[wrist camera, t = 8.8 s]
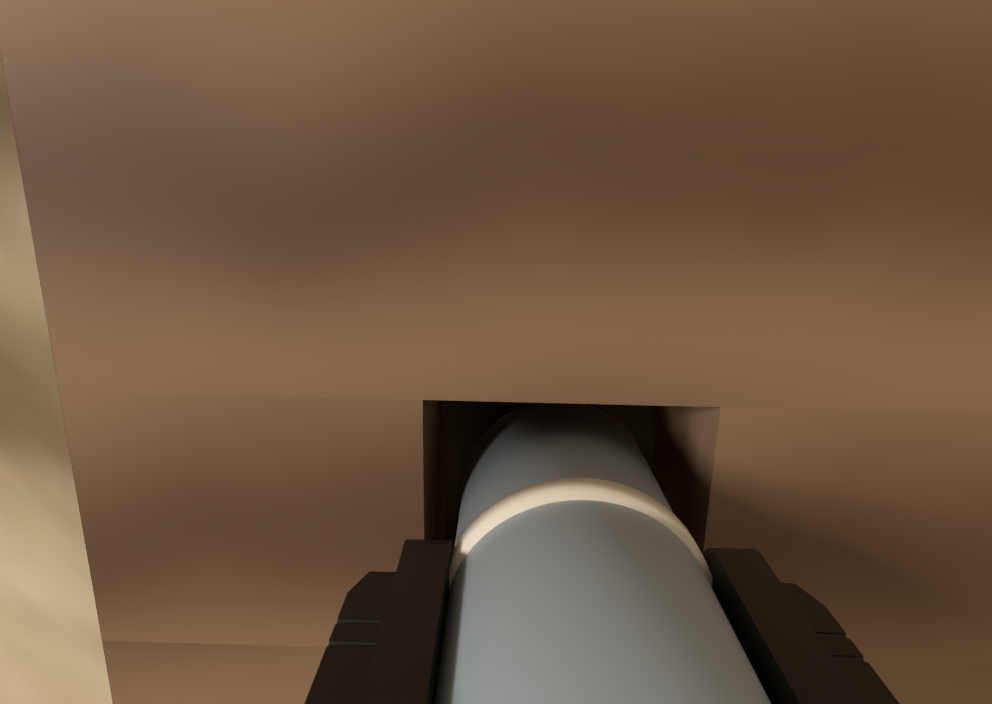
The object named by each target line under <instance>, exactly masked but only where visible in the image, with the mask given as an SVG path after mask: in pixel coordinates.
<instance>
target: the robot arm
mask: <svg viewBox="0 0 992 704" xmlns="http://www.w3.org/2000/svg"><path fill="white" fill-rule="evenodd" d="M451 556H452V541H451V540H422V539H406V540H405V542H404V545H403V549H402V552H401V556H400V559H399V563H398V566H397V570H396V572H376V571H369V572H368V573H367V574H366V575H365V576H364V577H363V578H362V579H361V580H360V581H359V582H358V583H357V584H356V585H355V586H354V587H353V588H352V589H351V590H350V591H349V592H347V595H346V598H345V600H344V603H343V605H342V608H341V611H340V613H339V616H338V620H337V623H335V626H334V629H333V631H332V634H331V636H330V639H329V645H328V646H327V647H326V649H325V652H324V654H323V657H322V660H321V662H320V665H319V667H318V670H317V673H316V675H315V678H314V680H313V683H312V685H311V688H310V691H309V693H308V696H307V698H306V701H305V704H434V698H435V691H436V684H437V677H438V669H439V662H440V655H441V648H442V640H443V633H444V626H445V619H446V611H447V604H448V597H449V570H450V563H451ZM703 557H704V559H705V561H706V563H707V565H708V567H709V570H710V572H711V574H712V577H713V579H712V589H713V591H714V593H715V595H716V597H717V599H718V601H719V603H720V605H721V607H722V609H723V611H724V613H725V615H726V617H727V619H728V620H729V622H730V624H731V626H732V628H733V630H734V632H735V634H736V636H737V638H738V640H739V642H740V644H741V646H742V648H743V650H744V652H745V654H746V655H747V657H748V659H749V661H750V663H751V665H752V667H753V669H754V671H755V673H756V675H757V677H758V679H759V681H760V683H761V685H762V687H763V689H764V690H765V692H766V694H767V696H768V698H769V700H770V702H771V704H900V703H899V702H898V701H897V699H896V698H895V697H894V695H893V694H892V693H891V692H890V690H889V689H888V688H887V686H886V685H885V684H884V682H883V681H882V680H881V678H880V677H879V676H878V674H877V673H876V672H875V671H874V669H873V668H872V667H871V665H870V664H869V663H868V662H864V659H863V655H862V653H861V652H860V651H859V649H858V648H857V647H856V646H855V644H854V643H853V642H852V640H851V639H850V638H847V637H846V632H845V631H844V630H843V628H842V627H841V626H840V624H839V623H838V622H837V621H836V619H835V618H834V617H833V615H832V614H831V613H830V611H829V610H828V609H827V607H826V606H825V605H823V604H822V603H821V602H819V601H818V600H817V599H815V598H814V597H813V596H811V595H810V594H808V593H807V592H806V591H804V590H803V589H802V588H800V587H799V586H798V585H796V584H795V583H781V582H780V581H779V579H778V578H777V576H776V575H775V573H774V572H773V570H772V569H771V568H770V566H769V565H768V563H767V562H766V560H765V559H764V557H763V556H762V555H761V553H760V552H759V551H758V550H756V549H741V548H706V549H705V551H704V552H703Z"/></svg>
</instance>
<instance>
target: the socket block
mask: <svg viewBox="0 0 992 704" xmlns="http://www.w3.org/2000/svg"><path fill="white" fill-rule="evenodd" d="M0 52H1V58H2V64H3V69H4V75H5V81H6V87H7V93H8V98H9V104H10V110H11V116H12V121H13V127H14V133H15V139H16V145H17V150H18V156H19V162H20V168H21V174H22V179H23V185H24V191H25V197H26V203H27V208H28V214H29V220H30V226H31V232H32V237H33V243H34V249H35V255H36V260H37V266H38V272H39V278H40V284H41V289H42V295H43V301H44V307H45V313H46V318H47V324H48V330H49V336H50V342H51V347H52V353H53V359H54V365H55V371H56V376H57V382H58V388H59V394H60V400H61V405H62V411H63V417H64V423H65V428H66V434H67V440H68V446H69V452H70V457H71V463H72V469H73V475H74V481H75V486H76V492H77V498H78V504H79V510H80V515H81V521H82V527H83V533H84V539H85V544H86V550H87V556H88V562H89V567H90V573H91V579H92V585H93V591H94V596H95V602H96V608H97V614H98V620H99V625H100V631H101V637H102V643H103V649H104V654H105V660H106V666H107V672H108V678H109V683H110V689H111V695H112V701H113V704H305V701H306V698H307V696H308V693H309V691H310V688H311V685H312V683H313V680H314V678H315V675H316V673H317V670H318V667H319V665H320V662H321V660H322V657H323V654H324V652H325V649H326V647H327V646H328V645H329V639H330V636H331V634H332V631H333V629H334V626H335V623H337V620H338V616H339V613H340V611H341V608H342V605H343V603H344V600H345V598H346V595H347V592H349V591H350V590H351V589H352V588H353V587H354V586H355V585H356V584H357V583H358V582H359V581H360V580H361V579H362V578H363V577H364V576H365V575H366V574H367V573H368V572H369V571H376V572H396V570H397V566H398V563H399V559H400V556H401V552H402V549H403V545H404V542H405V540H406V539H422V540H451V541H452V550H453V549H454V547H455V540H456V538H445V401H487V402H528V403H569V404H611V405H652V406H658V416H657V427H656V438H655V448H654V459H653V470H652V473H653V475H654V477H655V479H656V481H657V482H658V484H659V486H660V488H661V490H662V492H663V494H664V496H665V498H666V500H667V502H668V504H669V506H670V508H671V510H672V512H673V514H674V515H675V516H677V518H678V519H679V520H680V521H681V522H682V523H683V525H684V526H685V527H686V528H687V529H688V531H689V533H690V534H691V536H692V537H693V539H694V541H695V542H696V544H697V546H698V548H699V550H700V551H701V553H702V555H703V552H704V551H705V549H706V548H741V549H756V550H758V551H759V552H760V553H761V555H762V556H763V557H764V559H765V560H766V562H767V563H768V565H769V566H770V568H771V569H772V570H773V572H774V573H775V575H776V576H777V578H778V579H779V581H780V582H781V583H795V584H796V585H798V586H799V587H800V588H802V589H803V590H804V591H806V592H807V593H808V594H810V595H811V596H813V597H814V598H815V599H817V600H818V601H819V602H821V603H822V604H823V605H825V606H826V607H827V609H828V610H829V611H830V613H831V614H832V615H833V617H834V618H835V619H836V621H837V622H838V623H839V624H840V626H841V627H842V628H843V630H844V631H845V632H846V637H847V638H850V639H851V640H852V642H853V643H854V644H855V646H856V647H857V648H858V649H859V651H860V652H861V653H862V655H863V659H864V662H868V663H869V664H870V665H871V667H872V668H873V669H874V671H875V672H876V673H877V674H878V676H879V677H880V678H881V680H882V681H883V682H884V684H885V685H886V686H887V688H888V689H889V690H890V692H891V693H892V694H893V695H894V697H895V698H896V699H897V701H898V702H899V703H900V704H992V0H0Z"/></svg>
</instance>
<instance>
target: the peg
mask: <svg viewBox="0 0 992 704" xmlns="http://www.w3.org/2000/svg"><path fill="white" fill-rule="evenodd" d="M712 579H713V577H712V574H711V572H710V570H709V567H708V565H707V563H706V561H705V559H704V557H703V555H702V553H701V551H700V550H699V548H698V546H697V544H696V542H695V541H694V539H693V537H692V536H691V534H690V533H689V531H688V529H687V528H686V527H685V526H684V525H683V523H682V522H681V521H680V520H679V519H678V518H677V516H675V515H674V514H673V512H672V510H671V508H670V506H669V504H668V502H667V500H666V498H665V496H664V494H663V492H662V490H661V488H660V486H659V484H658V482H657V481H656V479H655V477H654V475H653V473H652V471H651V469H650V467H649V465H648V463H647V461H646V459H645V457H644V455H643V453H642V451H641V449H640V447H639V446H638V444H637V442H636V441H635V439H634V438H633V436H632V435H631V434H630V433H629V432H628V430H627V429H626V428H625V427H624V426H623V425H622V424H621V423H619V422H618V421H617V420H616V419H614V418H613V417H611V416H610V415H609V414H607V413H605V412H603V411H601V410H599V409H597V408H595V407H592V406H589V405H586V404H569V403H533V404H529V405H526V406H523V407H520V408H518V409H516V410H513V411H511V412H510V413H508V414H506V415H505V416H503V417H501V418H500V419H499V420H497V421H496V422H495V423H494V424H492V425H491V426H490V427H489V428H488V429H487V430H486V431H485V432H484V434H483V435H482V436H481V438H480V439H479V440H478V442H477V443H476V445H475V447H474V448H473V450H472V452H471V455H470V457H469V460H468V462H467V466H466V471H465V476H464V483H463V490H462V497H461V505H460V512H459V519H458V526H457V533H456V540H455V547H454V549H453V550H452V556H451V563H450V570H449V597H448V604H447V611H446V619H445V626H444V633H443V640H442V648H441V655H440V662H439V669H438V677H437V684H436V691H435V698H434V704H771V702H770V700H769V698H768V696H767V694H766V692H765V690H764V689H763V687H762V685H761V683H760V681H759V679H758V677H757V675H756V673H755V671H754V669H753V667H752V665H751V663H750V661H749V659H748V657H747V655H746V654H745V652H744V650H743V648H742V646H741V644H740V642H739V640H738V638H737V636H736V634H735V632H734V630H733V628H732V626H731V624H730V622H729V620H728V619H727V617H726V615H725V613H724V611H723V609H722V607H721V605H720V603H719V601H718V599H717V597H716V595H715V593H714V591H713V589H712Z"/></svg>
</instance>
